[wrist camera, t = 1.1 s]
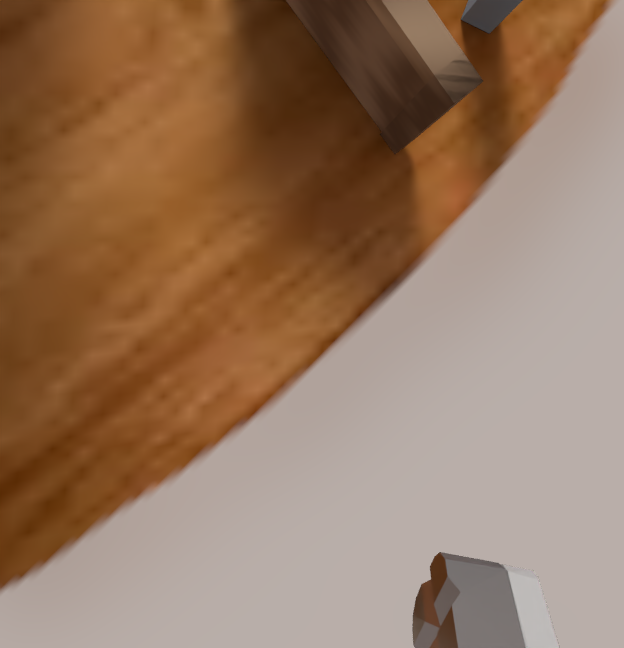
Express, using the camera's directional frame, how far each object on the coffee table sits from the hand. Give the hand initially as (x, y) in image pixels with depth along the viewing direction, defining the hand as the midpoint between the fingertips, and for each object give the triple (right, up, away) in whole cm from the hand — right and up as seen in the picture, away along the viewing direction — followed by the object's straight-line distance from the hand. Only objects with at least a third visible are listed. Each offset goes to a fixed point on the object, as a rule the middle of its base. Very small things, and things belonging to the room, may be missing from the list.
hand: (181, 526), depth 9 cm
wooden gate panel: (+4, +23, +32) cm, 39 cm away
